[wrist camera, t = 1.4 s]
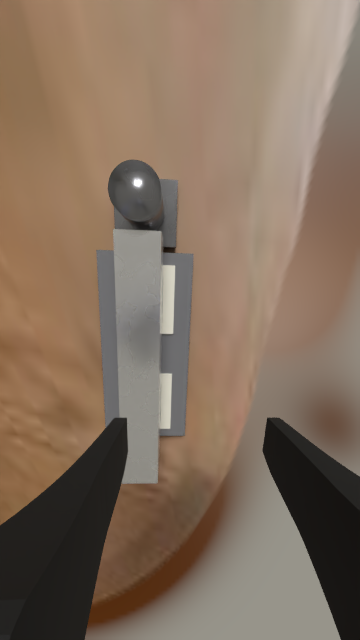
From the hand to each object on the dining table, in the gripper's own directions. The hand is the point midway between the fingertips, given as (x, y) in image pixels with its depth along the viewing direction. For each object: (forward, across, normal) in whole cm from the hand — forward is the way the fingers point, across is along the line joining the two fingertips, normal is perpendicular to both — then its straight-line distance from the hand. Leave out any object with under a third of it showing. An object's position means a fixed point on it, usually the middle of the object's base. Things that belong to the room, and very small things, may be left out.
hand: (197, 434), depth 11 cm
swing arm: (+9, +4, 0) cm, 9 cm away
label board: (+10, +4, 0) cm, 11 cm away
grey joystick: (+10, +4, -12) cm, 17 cm away
